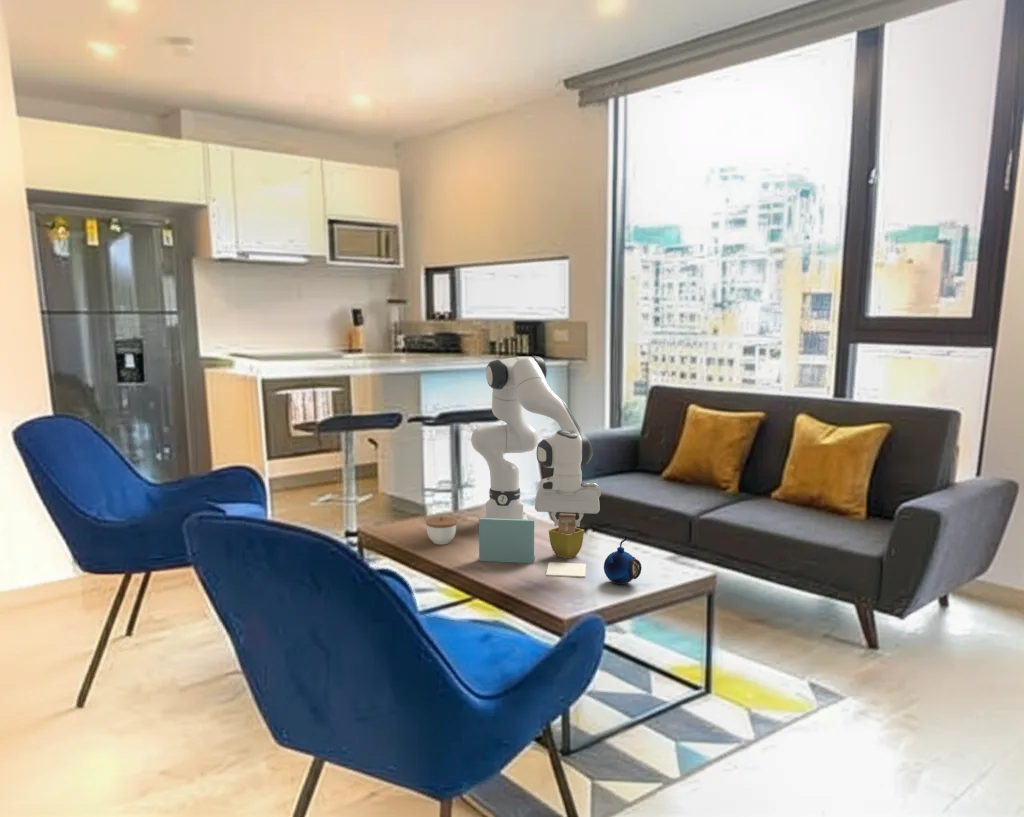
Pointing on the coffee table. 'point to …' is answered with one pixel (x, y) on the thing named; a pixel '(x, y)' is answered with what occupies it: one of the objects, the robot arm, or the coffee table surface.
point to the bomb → (621, 566)
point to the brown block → (567, 523)
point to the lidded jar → (441, 529)
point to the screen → (506, 540)
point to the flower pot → (566, 542)
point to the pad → (566, 569)
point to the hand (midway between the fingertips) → (567, 526)
